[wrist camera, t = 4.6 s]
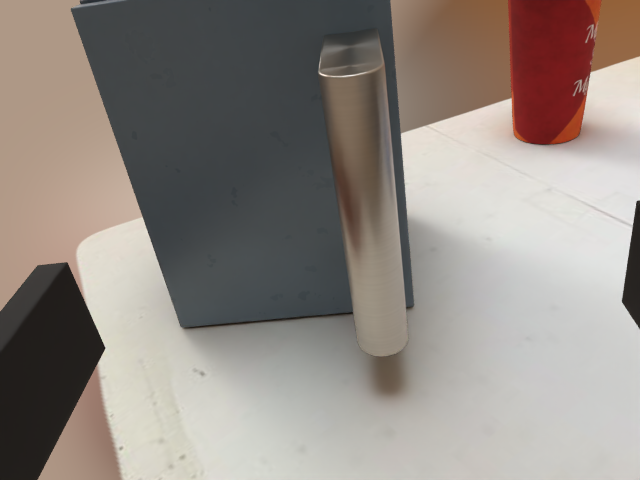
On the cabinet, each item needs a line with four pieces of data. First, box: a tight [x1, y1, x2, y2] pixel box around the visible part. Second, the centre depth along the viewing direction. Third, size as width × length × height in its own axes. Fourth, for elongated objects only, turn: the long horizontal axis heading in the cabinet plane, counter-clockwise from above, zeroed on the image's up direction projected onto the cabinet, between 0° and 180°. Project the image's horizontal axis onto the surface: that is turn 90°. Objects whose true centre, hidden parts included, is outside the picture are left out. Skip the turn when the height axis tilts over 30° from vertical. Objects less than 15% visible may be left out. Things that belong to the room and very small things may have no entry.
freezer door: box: [71, 0, 414, 357], centre depth 29 cm, size 8×15×20 cm, turn 88°
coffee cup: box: [508, 0, 602, 144], centre depth 52 cm, size 8×8×15 cm
